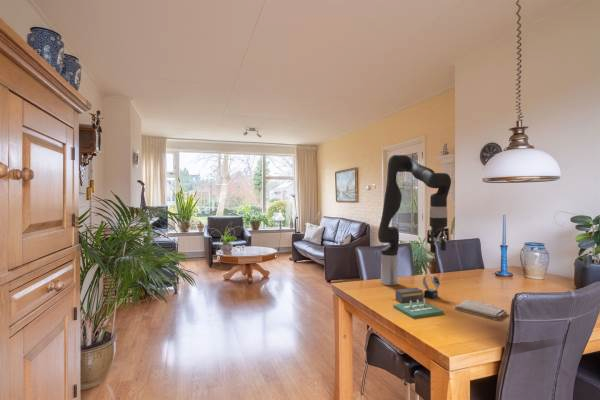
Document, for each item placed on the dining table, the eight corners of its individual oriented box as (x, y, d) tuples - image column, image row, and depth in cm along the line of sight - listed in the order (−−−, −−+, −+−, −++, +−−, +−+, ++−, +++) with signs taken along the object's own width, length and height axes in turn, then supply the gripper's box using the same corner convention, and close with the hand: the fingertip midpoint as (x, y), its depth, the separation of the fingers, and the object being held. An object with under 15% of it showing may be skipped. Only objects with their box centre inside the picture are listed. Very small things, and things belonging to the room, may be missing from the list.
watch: (436, 299, 158) (436, 277, 157) (421, 296, 163) (420, 274, 163) (441, 297, 161) (441, 275, 161) (426, 293, 167) (425, 272, 167)
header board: (393, 307, 148) (393, 297, 147) (422, 303, 152) (422, 293, 152) (412, 318, 134) (412, 307, 134) (443, 313, 139) (443, 303, 139)
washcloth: (498, 322, 131) (498, 314, 131) (453, 310, 144) (453, 303, 144) (507, 314, 138) (507, 307, 138) (464, 304, 152) (464, 298, 152)
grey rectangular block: (401, 303, 153) (401, 292, 153) (395, 300, 158) (395, 290, 158) (422, 300, 157) (422, 290, 157) (416, 297, 161) (416, 287, 161)
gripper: (439, 215, 154) (438, 248, 155) (422, 216, 146) (421, 252, 146) (454, 216, 148) (454, 250, 149) (437, 217, 140) (437, 254, 140)
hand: (438, 251), depth 148 cm, fingers open, 8 cm apart
